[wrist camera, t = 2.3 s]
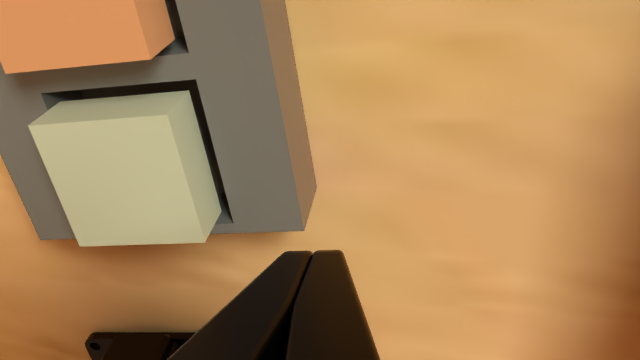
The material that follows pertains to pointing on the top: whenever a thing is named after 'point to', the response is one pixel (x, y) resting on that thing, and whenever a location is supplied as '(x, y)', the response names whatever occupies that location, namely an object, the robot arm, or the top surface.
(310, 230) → the top surface
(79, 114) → the sage key
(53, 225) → the button panel
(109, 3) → the terracotta key
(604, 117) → the top surface
